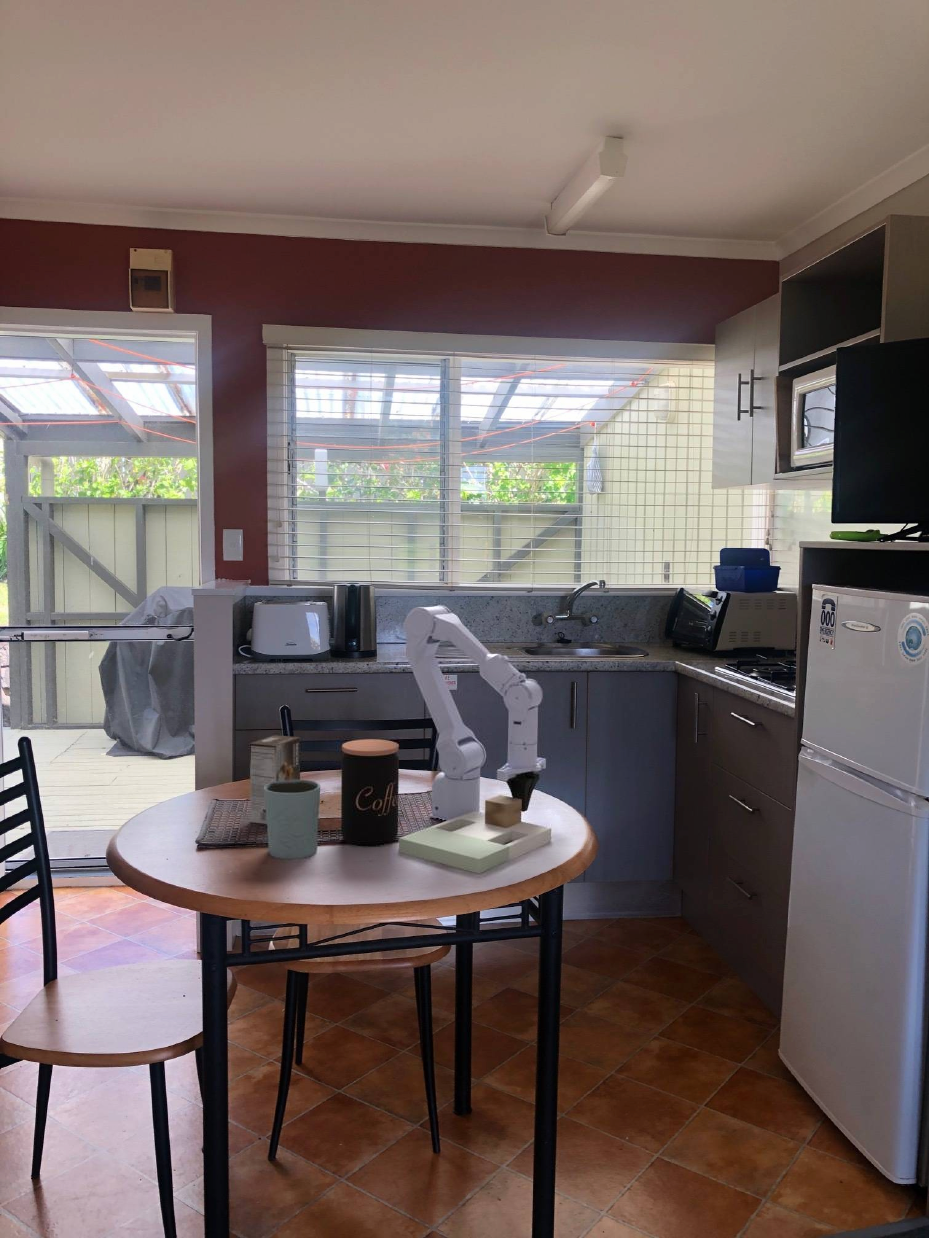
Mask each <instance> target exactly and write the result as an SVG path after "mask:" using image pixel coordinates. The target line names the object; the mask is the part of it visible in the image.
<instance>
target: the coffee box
mask: <svg viewBox="0 0 929 1238" xmlns="http://www.w3.org/2000/svg"><path fill="white" fill-rule="evenodd" d="M300 741H301V737H300V736H288V735H287V736H286V735H276V734H275V735H271V736H268V737H265V738H264V737H263V739H259V740H257V741H253V742H251V743H249V758H250V759H249V770H250V772H249V773H250V774H249V776H250V777H249V780H250V781H249V782H250V783H249V787H250V789H249V790H250V793H249V794H250V805H249V806H250V822H251V823H256V824H263V825H267V820H266V805H265V799H264V786H265V785H267V784H269V783H273V782H277V781H283V780H301V742H300Z"/></svg>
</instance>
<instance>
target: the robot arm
mask: <svg viewBox="0 0 929 1238" xmlns="http://www.w3.org/2000/svg"><path fill="white" fill-rule="evenodd" d="M402 628H403V632H404V633H405V636H406V637H405V654H406V655H405V656H406V658H407V661H408V663H409V666H410V668H411V671H412V672H413V673H412V674H413V675H414V678H415V680H416V683H417V685H418V688H419V690H420V692H421V695H422V698H423V699H424V701H425V704H426V707H427V709H428V712H429V715H430V716H431V719H432V721H433V723H434V726H435V728H436V730H437V733H438V739H437V741H436V750H437V753H438V764H439V767H440V770H441V772H439V773H438V774H436V776H434V780H433V783H432V787H431V790H432V792H431V814H429V816H428V817H429V818H433V819H436V818H439V819H438V820H440V819H444V820H446V821H448V820H451V819H454V818H457V817H459V816H462V815H465V814H468V813H471V812H473V811H477V812H480V810H481V809H480V807H481V806H480V805H481V801H480V800H481V797H480V796H481V767H483V765H484V764H485V763H486V762H485V761H486V759H487V752H486V749H485V747H484V745H483V744H482V743H481V742H480V741H479V740H478V739H477V737H476V736H475V734H474V732H473V731H472V730H471V728H469V727H468V726H466V725H465V724H464V722H463V720H462V717H461V714H460V712H459V709H458V708H457V705H456V703H455V701H454V698H453V696H452V693H451V691H450V689H449V686H448V684H447V681H446V679H445V677H444V674H443V673H442V670H441V668H440V666H439V663H438V660H437V658H436V652H437V650H438V647H439V645H440V644H441V642H443V641H444V642H445V641H446V642H450V643H451V644H453V645H454V646H455V647H456V648H457V649H459V651H461V652H462V653H463V654H464V655H466V657H468V658H469V659H470V660H471V661H472V662H474V663H475V664H476V665H477V666H479V667H478V668H479V675H480V677H482V678H483V679H484V680H485V681H486V682H487V683H488V684H489V685H490V686H491V687H492V688H493V689H494V690H496V692H498V693H499V694H500V696H501V697H503V702H504V705H505V707H506V708H507V710H508V725H507V726H508V727H507V728H508V730H507V731H508V733H507V734H508V735H507V736H508V741H507V762H506V764H504V765H503V766H502V767H501V768H499V769H497V770H496V780H497V781H501V782H505V783H506V784H507V786H508V788H509V791H510V793H511V797H513V798H517V799H522V807H521V813H524V812H526V811H528V808H529V805H530V802H531V799H532V794H533V792H534V789H535V787H536V786H537V783H538V781H539V780H540V774H539V773H534V772H539V771H542V770H543V769H546V768H547V759H546V758H543V757H538V729H539V728H538V726H539V725H538V724H539V722H538V721H539V720H538V719H539V717H538V713H539V705H540V704H541V702H543V701H542V700H543V698H544V697H543V696H544V694H543V689H542V688H541V686H540V684H538V683H539V682H538V681H537V680H535V679H532V678H527V675H526V674H525V673H524V672H523V673H522V672H520V671H519V670H518V669H517V668H516V667H515V666H513V664H511V663H510V658H509V657H508V656H507V655H501V653H491V652H490V651H489V650H488V649H487V648H486V647H485V646H484V645H483V643H481V641H479V640H478V639H477V638H476V636H475V635H473V633H472V632H471V631H470V630H469V629H468V628H467V627H466V626H465V625H464V624H463V623H462V621H461V620H460V618H459V616H458V615H456V614H455V613H453V612H451V610H450V609H449V607H446V606H445V605H442V604H441V605H439V604H437V605H434V606H425V607H424V606H423V607H422V606H421V607H419V606H418V607H417V606H416V607H414V608H412V609H411V610H410V611H409V612H408V613H407V616H406V618H405V620H404V623H403V625H402ZM444 820H443V821H444Z"/></svg>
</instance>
